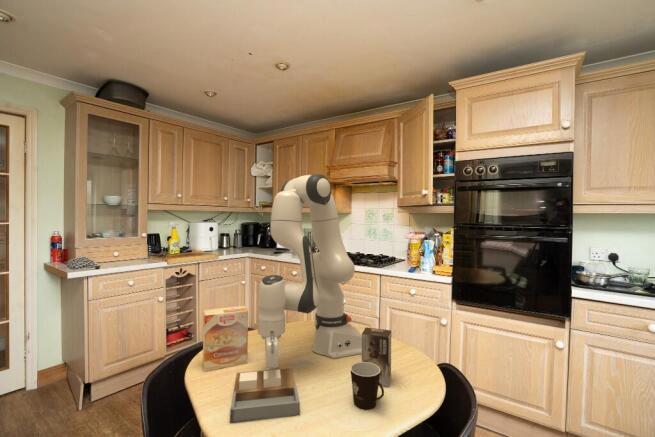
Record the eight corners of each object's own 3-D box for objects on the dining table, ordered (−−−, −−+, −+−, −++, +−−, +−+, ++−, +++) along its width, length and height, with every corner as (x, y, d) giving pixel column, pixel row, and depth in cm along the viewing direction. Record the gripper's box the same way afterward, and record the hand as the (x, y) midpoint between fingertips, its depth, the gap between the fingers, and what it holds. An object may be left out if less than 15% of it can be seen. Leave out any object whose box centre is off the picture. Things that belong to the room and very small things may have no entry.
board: (292, 376, 105) (292, 367, 105) (296, 397, 93) (296, 387, 93) (236, 382, 101) (236, 372, 101) (233, 403, 90) (233, 393, 90)
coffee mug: (347, 395, 95) (348, 362, 95) (375, 394, 96) (376, 361, 95) (354, 420, 83) (354, 382, 83) (386, 418, 84) (386, 381, 84)
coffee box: (391, 378, 105) (392, 330, 105) (388, 387, 99) (389, 337, 99) (364, 373, 108) (365, 326, 108) (360, 382, 102) (361, 333, 102)
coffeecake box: (203, 371, 108) (204, 315, 108) (202, 363, 114) (203, 309, 114) (248, 363, 114) (248, 310, 114) (244, 355, 121) (244, 304, 120)
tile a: (279, 377, 99) (279, 369, 99) (280, 386, 94) (280, 377, 94) (263, 379, 98) (263, 371, 98) (263, 387, 93) (263, 379, 93)
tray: (296, 397, 93) (296, 385, 93) (299, 415, 85) (299, 402, 85) (233, 403, 90) (233, 391, 90) (230, 423, 81) (230, 409, 81)
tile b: (256, 379, 97) (257, 371, 97) (256, 388, 92) (256, 379, 92) (240, 381, 96) (240, 373, 96) (239, 390, 91) (239, 381, 91)
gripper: (283, 338, 93) (282, 384, 93) (279, 316, 113) (279, 354, 113) (261, 339, 91) (261, 387, 91) (261, 317, 111) (261, 356, 111)
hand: (271, 369), depth 102 cm, fingers closed
